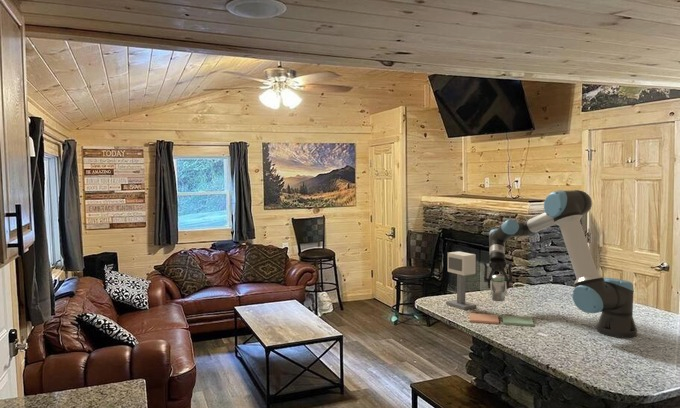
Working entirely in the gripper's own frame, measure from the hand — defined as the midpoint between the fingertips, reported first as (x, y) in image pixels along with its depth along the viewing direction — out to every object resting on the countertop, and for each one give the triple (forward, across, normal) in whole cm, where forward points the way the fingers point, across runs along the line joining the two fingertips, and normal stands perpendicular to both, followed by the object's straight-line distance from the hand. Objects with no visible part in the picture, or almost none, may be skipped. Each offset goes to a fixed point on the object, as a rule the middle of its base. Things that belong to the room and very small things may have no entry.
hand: (498, 293), depth 243 cm
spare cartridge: (0, 0, -5) cm, 5 cm away
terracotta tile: (+15, +7, 0) cm, 16 cm away
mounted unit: (-1, +18, -15) cm, 24 cm away
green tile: (+15, -8, 0) cm, 17 cm away
